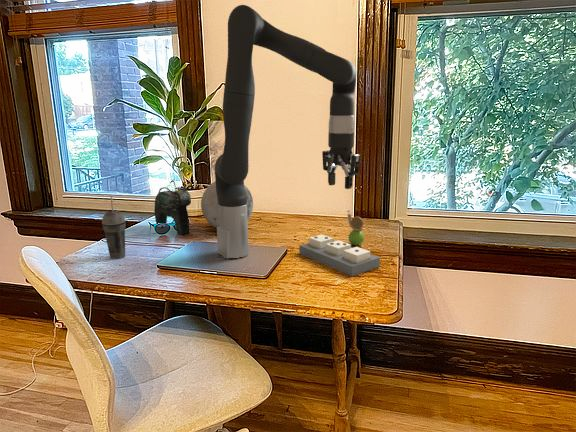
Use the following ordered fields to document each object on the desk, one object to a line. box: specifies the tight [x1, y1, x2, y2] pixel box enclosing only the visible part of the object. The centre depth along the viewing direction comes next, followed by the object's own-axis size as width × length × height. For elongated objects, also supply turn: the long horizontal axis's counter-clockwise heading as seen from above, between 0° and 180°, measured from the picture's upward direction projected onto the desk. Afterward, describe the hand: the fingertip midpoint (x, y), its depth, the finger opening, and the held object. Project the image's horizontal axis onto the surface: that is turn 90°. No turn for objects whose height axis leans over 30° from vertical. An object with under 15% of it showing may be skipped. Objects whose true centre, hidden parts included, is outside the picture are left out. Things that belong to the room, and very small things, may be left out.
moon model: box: [200, 180, 254, 229], centre depth 170 cm, size 20×20×20 cm
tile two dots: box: [308, 234, 334, 249], centre depth 145 cm, size 6×6×3 cm
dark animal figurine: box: [153, 180, 192, 236], centre depth 169 cm, size 20×6×20 cm, turn 48°
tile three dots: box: [326, 239, 352, 256], centre depth 139 cm, size 6×6×3 cm
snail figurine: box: [347, 209, 365, 246], centre depth 153 cm, size 5×6×12 cm
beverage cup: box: [101, 195, 127, 260], centre depth 141 cm, size 7×7×20 cm
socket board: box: [298, 240, 381, 277], centre depth 140 cm, size 12×24×3 cm, turn 38°
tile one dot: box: [344, 246, 371, 263], centre depth 133 cm, size 6×6×3 cm
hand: (339, 186), depth 134 cm, fingers open, 6 cm apart
